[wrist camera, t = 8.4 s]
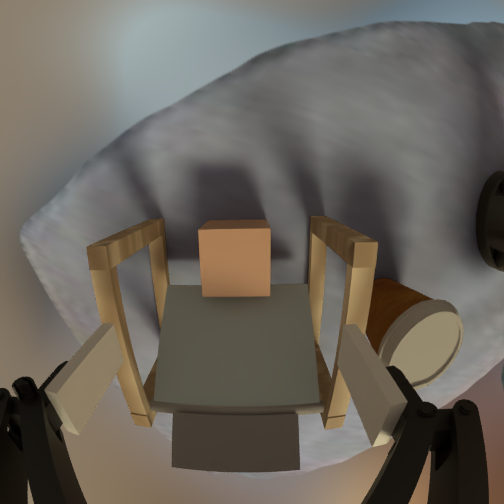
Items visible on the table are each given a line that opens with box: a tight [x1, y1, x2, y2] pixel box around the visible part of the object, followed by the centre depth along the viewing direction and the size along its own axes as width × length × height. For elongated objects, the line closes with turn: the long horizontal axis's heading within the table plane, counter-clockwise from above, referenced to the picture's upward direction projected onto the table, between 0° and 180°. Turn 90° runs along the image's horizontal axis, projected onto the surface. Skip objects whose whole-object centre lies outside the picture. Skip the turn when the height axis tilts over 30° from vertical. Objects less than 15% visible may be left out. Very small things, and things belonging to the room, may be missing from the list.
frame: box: [86, 216, 378, 430], centre depth 24 cm, size 19×17×13 cm
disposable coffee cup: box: [366, 278, 464, 390], centre depth 25 cm, size 10×10×12 cm
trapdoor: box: [150, 284, 324, 472], centre depth 22 cm, size 15×18×2 cm
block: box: [198, 219, 271, 297], centre depth 27 cm, size 6×6×6 cm
